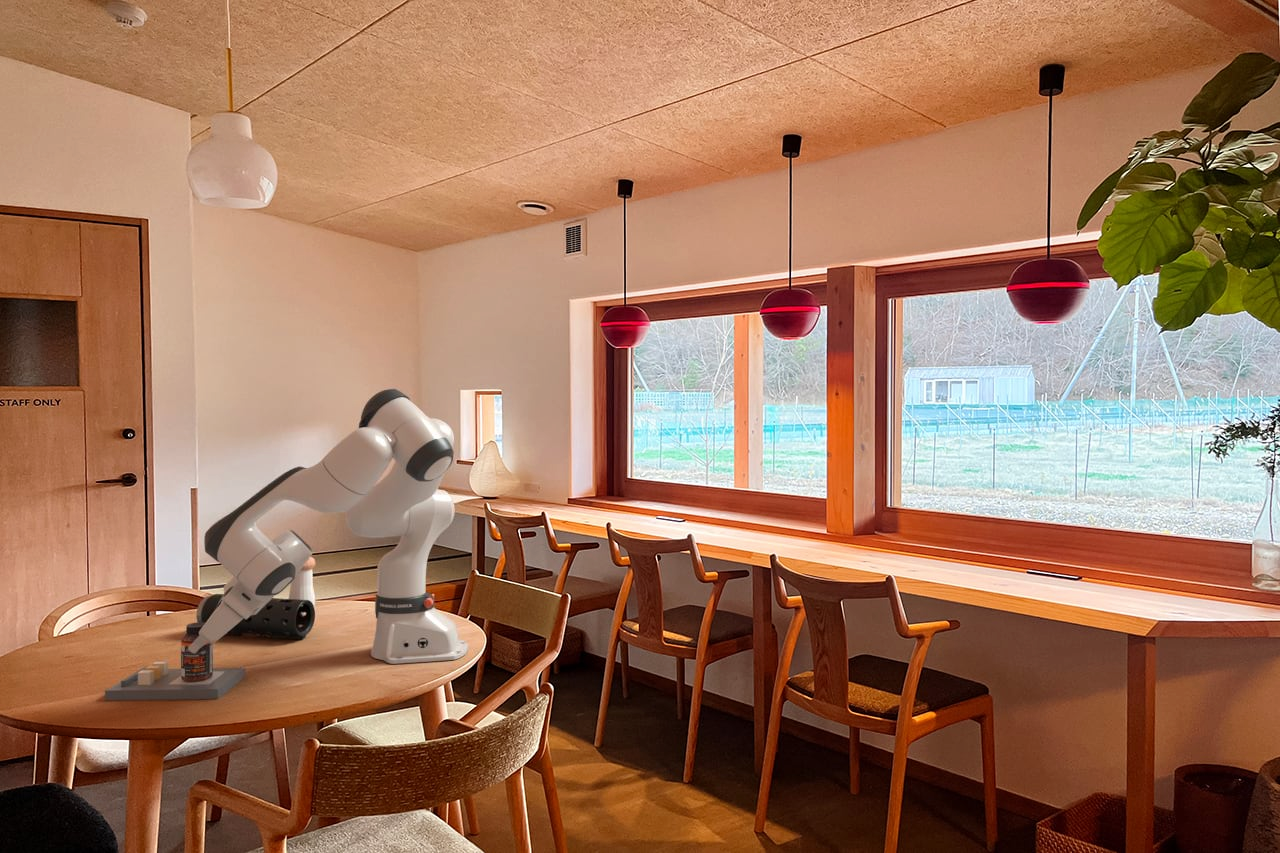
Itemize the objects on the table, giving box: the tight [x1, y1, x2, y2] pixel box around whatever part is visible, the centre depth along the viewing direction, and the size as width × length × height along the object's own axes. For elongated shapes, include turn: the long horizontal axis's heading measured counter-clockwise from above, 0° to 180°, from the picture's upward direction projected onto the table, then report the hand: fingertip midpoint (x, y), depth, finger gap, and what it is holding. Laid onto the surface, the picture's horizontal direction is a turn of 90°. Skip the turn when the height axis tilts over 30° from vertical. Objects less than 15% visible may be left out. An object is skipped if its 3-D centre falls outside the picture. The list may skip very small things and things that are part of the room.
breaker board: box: [104, 661, 246, 701], centre depth 184 cm, size 22×14×4 cm, turn 93°
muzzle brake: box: [195, 593, 316, 640], centre depth 224 cm, size 10×28×10 cm, turn 78°
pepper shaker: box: [288, 556, 317, 627], centre depth 235 cm, size 7×7×19 cm
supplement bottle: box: [180, 621, 214, 682], centre depth 183 cm, size 6×6×11 cm
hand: (195, 644), depth 184 cm, fingers open, 8 cm apart
